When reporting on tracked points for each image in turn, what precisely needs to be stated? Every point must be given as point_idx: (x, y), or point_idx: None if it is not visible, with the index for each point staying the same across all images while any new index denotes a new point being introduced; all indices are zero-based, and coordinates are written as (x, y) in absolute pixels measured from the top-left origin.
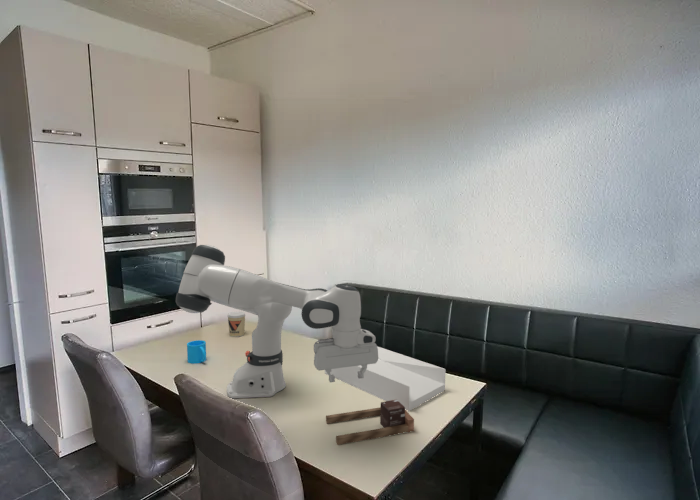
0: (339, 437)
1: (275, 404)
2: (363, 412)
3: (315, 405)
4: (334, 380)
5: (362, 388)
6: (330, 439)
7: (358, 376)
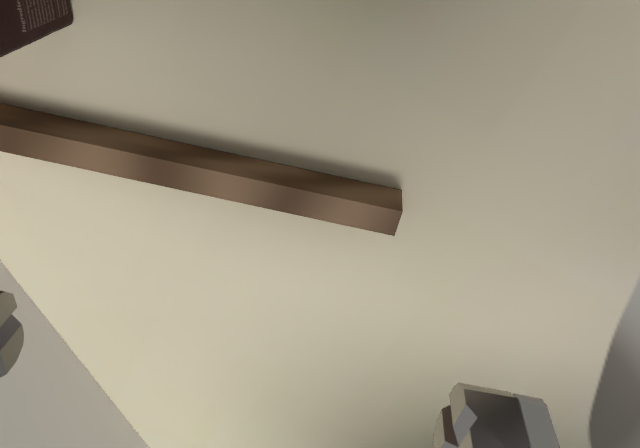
0: None
1: None
2: (147, 155)
3: (359, 358)
4: (473, 402)
5: (72, 366)
6: (489, 13)
7: (4, 335)
